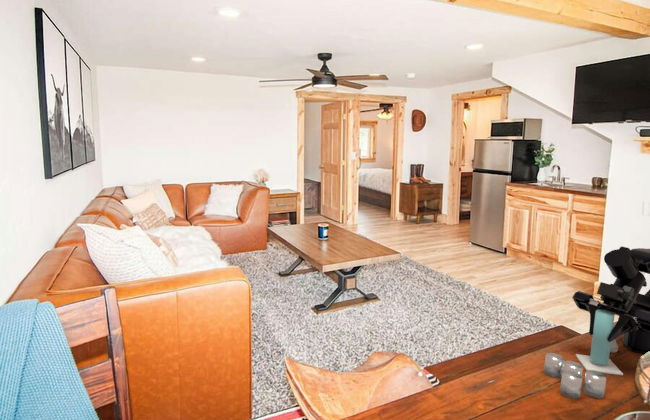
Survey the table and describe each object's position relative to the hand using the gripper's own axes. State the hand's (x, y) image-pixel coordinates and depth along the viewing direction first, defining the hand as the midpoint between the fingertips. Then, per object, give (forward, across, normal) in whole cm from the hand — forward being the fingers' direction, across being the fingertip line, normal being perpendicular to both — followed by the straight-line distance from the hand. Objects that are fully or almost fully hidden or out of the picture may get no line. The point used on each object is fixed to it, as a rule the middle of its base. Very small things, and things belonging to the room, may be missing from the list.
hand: (599, 337), depth 104 cm
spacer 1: (+15, -4, -4) cm, 16 cm away
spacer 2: (+15, +1, -4) cm, 15 cm away
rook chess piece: (-4, -3, +15) cm, 16 cm away
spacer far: (+18, +3, -7) cm, 20 cm away
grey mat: (+5, 0, +6) cm, 8 cm away
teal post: (+4, 0, +6) cm, 7 cm away
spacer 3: (+15, +6, -4) cm, 16 cm away
